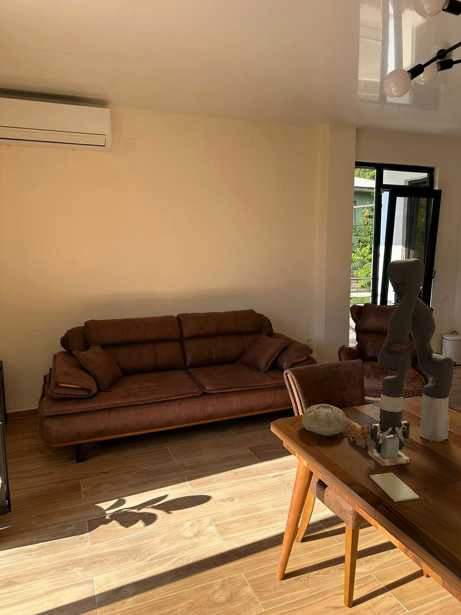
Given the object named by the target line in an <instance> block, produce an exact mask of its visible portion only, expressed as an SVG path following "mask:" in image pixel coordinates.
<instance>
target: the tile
mask: <svg viewBox="0 0 461 615" xmlns="http://www.w3.org/2000/svg"><path fill="white" fill-rule="evenodd" d="M369 477H370V479H372V481H373V482H375V484H376V485H377V486H379V487H380V488H381V490H382V491H383V492H384V493H386V494H387V495H388V496H389V498H391V499H392V501H394V502H396V503H397V502H402V501H409V500H410V501H411V500H417V499H418V500H419V499H420V496H419V495H418V494H417V493H416V492H415V491H413V489H412V488H411V487H409V486H408V485H407V484H406V483H404V482H403V481H402V480H401V479H400V478H399V477H398V476H397V475H395V474H394V473H393V472H385V473H379V474H370V475H369Z"/></svg>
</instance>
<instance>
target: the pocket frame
mask: <svg viewBox="0 0 461 615" xmlns="http://www.w3.org/2000/svg"><path fill="white" fill-rule="evenodd" d="M367 454H368V455H369V456H370V457H371V458H373V460H375V461H376V462H377V463H378V464H379V465H380V466H381V467H385V466H393V465H394V466H395V465H401V464H410V457H408V456H407V455H405V453H403V452H402V451H399V450H398V458H392V459H383V458H382V457H380V456H379V453H378V452H377V451H376V450H375V448H374V449H373V448H372V449H368V452H367Z"/></svg>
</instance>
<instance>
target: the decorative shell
mask: <svg viewBox="0 0 461 615" xmlns="http://www.w3.org/2000/svg"><path fill="white" fill-rule="evenodd" d="M347 421H348V419H347V417H346V415H345V413H344V411H343V410H341V408H338V407H336V406H334V405H331V404H326V403H322V404H321V403H320V404H314V405H310V406H309V407H308V408H306V409H305V410H303V413H302V415H301V423H302V426H303V427H304V429H305V430H307V431H309V432H312V433H315V434H318V435H320V436H324V437H330V436H335V435H336V436H337V435H339V434H341V433H342V432H344V430H345V429H346V427H347Z"/></svg>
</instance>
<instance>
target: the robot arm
mask: <svg viewBox="0 0 461 615" xmlns="http://www.w3.org/2000/svg"><path fill="white" fill-rule="evenodd" d="M387 276H388V277H387V278H388V281H389V283H390V285H391V287H392V289H393V292H394V293H395V296H396V298H397V299H398V301H399V303H398V305H397V306H396V307H395V309H394V310H393V312H392V313H391V314H390V315H391V316H390V317H389V320H388V327H387V333H386V338H385V341H384V343H383V346H382V348H381V350H380V352H379V353H378V357H377V364H378V366H379V369H382V370H385V371H390V372H396V373H397V375H391V376H390V375H387V376H384V377H383V378H382V381H381V394H380V395H381V396H380V400H379V401H380V402H379V404H380V405H379V423H376V424H375V423H371V424H370V425H371V433H370V439H371V440H370V441H373V442H374V443H375V444H374V449H375V450H376V451H377V452H378V453H381V450H382V443H381V442H382V441H383V439H385V438H386V437H387V436H390V435H394V436H395V437H397V438H398V439H399V449H398V450H399V451H400V452H402V450H403V449H404V442H405V440H408V439H409V438H410V428H411V426H410V425H411V424H410V422H408V421H407V420H405V419H404V420H403V414H404V388H405V387H404V385H405V380H406V377H407V375H408V372H409V371H410V367H411V365H412V358H411V356H410V354H409V353H408V352H405V351H400V350H399V351H398V350H393V348H394V347H396V346H400V345H401V346H404V345H407V344H408V342H409V338H410V335H411V338H412V342H413V345H414V348H415V351H416V357H417V362H418V366H419V369H420V371H421V372H422V374H424V375H425V376H428V377H431V378H432V379H433V378H434V379H435V380H434V383H429V384H425V385H424V386H423V387H422V398H421V400H422V401H421V413H420V424H419V425H420V428H419V436H420V437H421V438H423V439H425V440H428V441H432V442H444V441H445V440H446V439H448V438H449V428H450V415H449V414H448V413H449V412H448V411H449V399H450V398H449V396H450V392H451V390H452V384H453V377H454V369H455V364H454V361H453V358H452V357H450V356H446V355H443V354H438V353H436V352H434V350H433V347H432V344H431V340H432V338H433V337H434V334H435V331H436V327H437V326H436V323H435V319H434V315H433V312H432V311H431V309H430V307H429V306H428V304H426V303H425V302H424V301H423V300H422V299H421V298H419V296H420V291H421V288H422V285H423V282H424V278H425V266H424V263H423V262H422V260H420V259H419V258H408V259H407V258H403V259H396V260H395V259H394V260H391V261H390V262H389V263H388V265H387ZM377 432H378V433H377Z"/></svg>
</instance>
